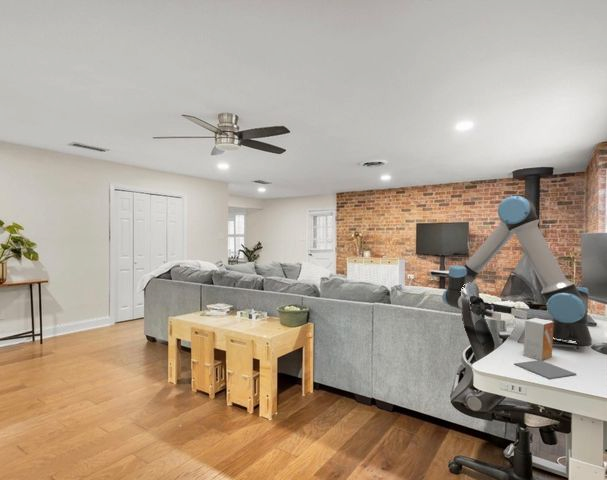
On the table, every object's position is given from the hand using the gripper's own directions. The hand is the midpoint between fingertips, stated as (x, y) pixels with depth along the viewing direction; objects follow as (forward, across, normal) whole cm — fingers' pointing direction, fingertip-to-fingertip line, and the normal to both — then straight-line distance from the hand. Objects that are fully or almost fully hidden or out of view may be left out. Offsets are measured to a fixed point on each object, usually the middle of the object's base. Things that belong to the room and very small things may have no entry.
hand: (513, 316), depth 137 cm
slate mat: (+20, +10, -12) cm, 26 cm away
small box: (+10, 0, -12) cm, 16 cm away
